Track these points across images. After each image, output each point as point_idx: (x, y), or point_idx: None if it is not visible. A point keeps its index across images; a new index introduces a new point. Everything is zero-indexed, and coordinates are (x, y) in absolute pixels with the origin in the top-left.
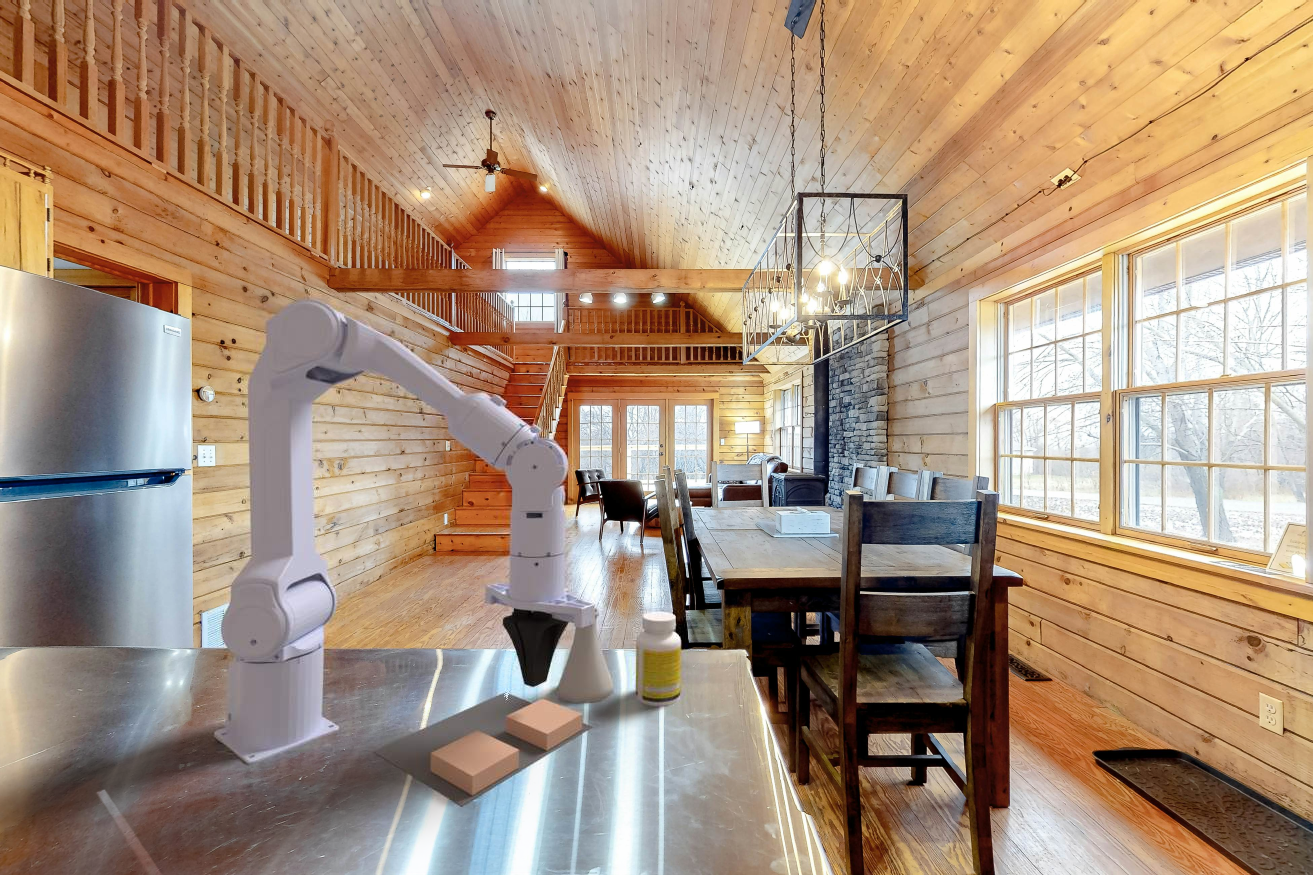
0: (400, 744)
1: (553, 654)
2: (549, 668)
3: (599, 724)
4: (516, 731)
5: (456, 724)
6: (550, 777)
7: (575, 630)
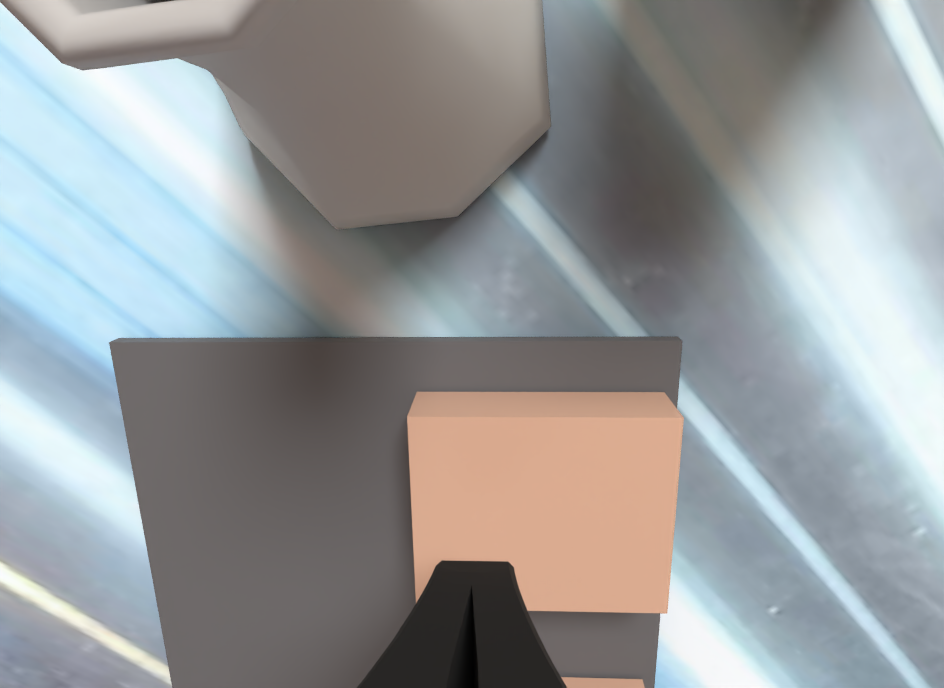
0: None
1: (552, 662)
2: (521, 599)
3: (668, 278)
4: None
5: (231, 620)
6: (741, 628)
7: (207, 68)
